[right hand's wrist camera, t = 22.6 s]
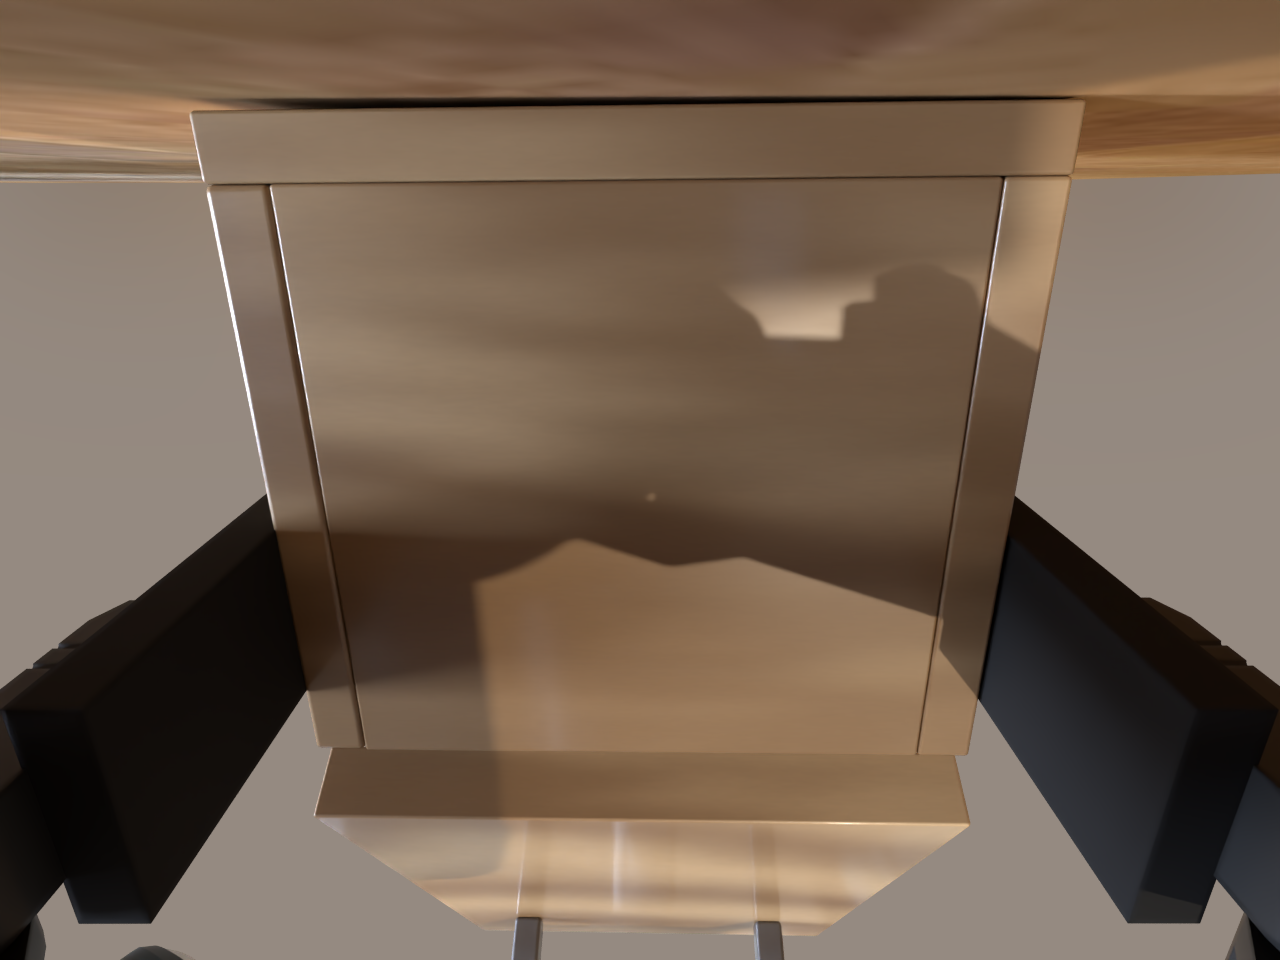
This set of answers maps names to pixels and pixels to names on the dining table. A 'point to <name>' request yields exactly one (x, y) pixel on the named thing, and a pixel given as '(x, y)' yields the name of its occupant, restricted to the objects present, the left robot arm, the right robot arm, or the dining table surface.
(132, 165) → the dining table surface
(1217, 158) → the dining table surface
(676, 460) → the chest
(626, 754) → the lid
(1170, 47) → the dining table surface
